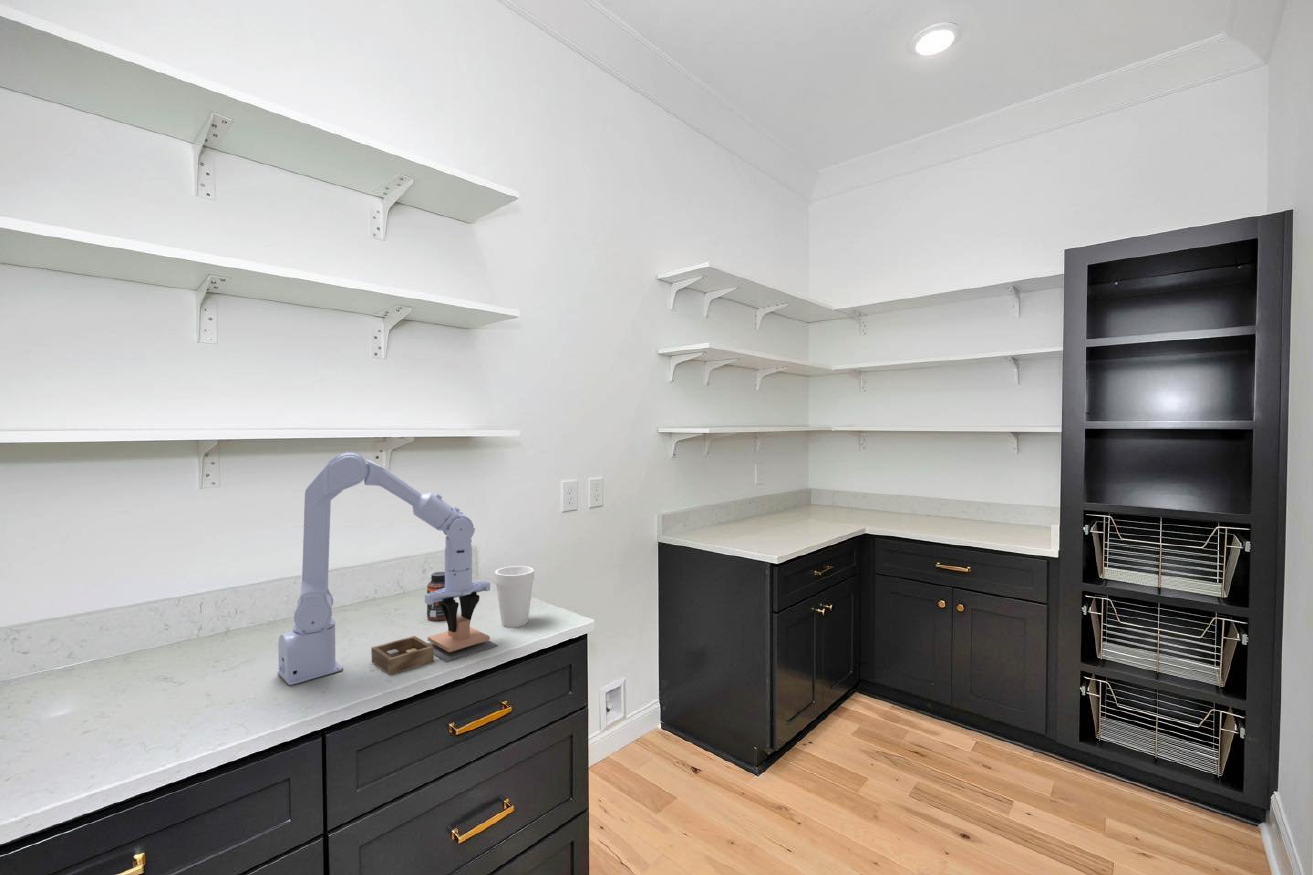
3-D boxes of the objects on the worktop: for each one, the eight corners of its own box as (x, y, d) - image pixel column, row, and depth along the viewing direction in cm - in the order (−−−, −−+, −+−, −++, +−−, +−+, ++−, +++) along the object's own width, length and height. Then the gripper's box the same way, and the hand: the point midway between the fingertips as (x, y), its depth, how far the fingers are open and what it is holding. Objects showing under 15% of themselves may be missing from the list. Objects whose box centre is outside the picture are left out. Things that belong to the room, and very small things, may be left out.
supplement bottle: (435, 623, 142) (435, 577, 142) (422, 618, 146) (422, 573, 146) (456, 616, 147) (456, 572, 147) (443, 612, 151) (443, 569, 151)
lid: (449, 655, 121) (448, 629, 121) (427, 643, 128) (427, 618, 128) (489, 642, 128) (489, 618, 128) (467, 631, 135) (467, 608, 135)
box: (389, 674, 114) (389, 659, 113) (371, 661, 120) (371, 647, 120) (433, 661, 120) (433, 646, 120) (414, 649, 126) (414, 635, 126)
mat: (446, 662, 120) (446, 660, 120) (420, 646, 128) (420, 645, 128) (497, 645, 128) (497, 644, 128) (469, 632, 136) (469, 631, 136)
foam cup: (488, 622, 144) (488, 570, 143) (521, 613, 150) (521, 564, 149) (506, 632, 137) (506, 577, 136) (541, 623, 143) (540, 571, 142)
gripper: (435, 577, 119) (436, 642, 120) (497, 565, 130) (497, 625, 130) (420, 571, 124) (420, 634, 125) (480, 560, 135) (481, 617, 135)
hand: (458, 629), depth 128 cm, fingers closed on lid, 2 cm apart
